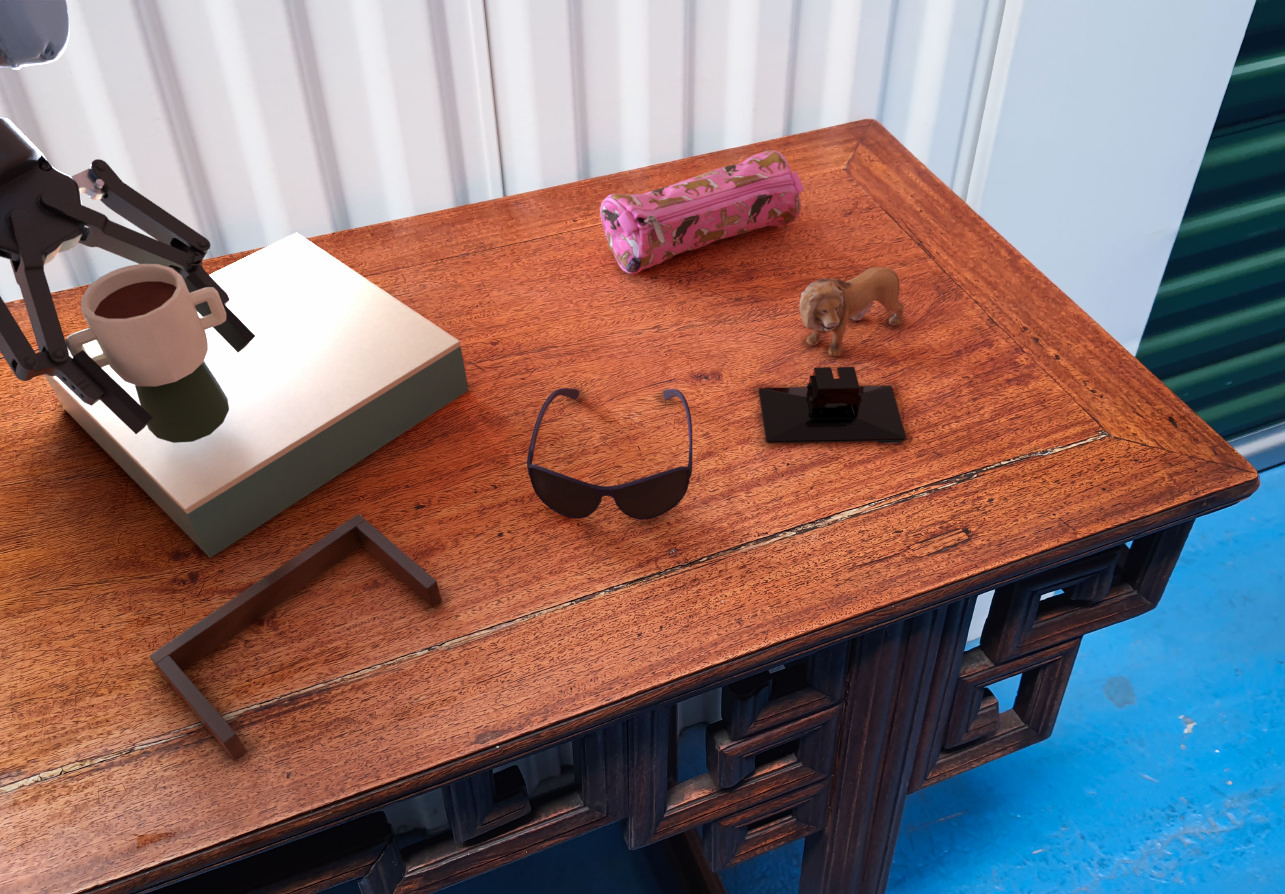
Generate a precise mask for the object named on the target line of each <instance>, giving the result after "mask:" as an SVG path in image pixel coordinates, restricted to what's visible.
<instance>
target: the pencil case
mask: <svg viewBox="0 0 1285 894" xmlns="http://www.w3.org/2000/svg"><path fill="white" fill-rule="evenodd" d="M804 190H805V189H804V186H803V184H802V181H801V178H800V175H799V174H798V171H792V169H791V166H790V164H789V162H788V159H786V157H785V155H784V154H782V152H780V151H777V150H774V149H773V150H764V151H762V152H760V153H756V154H753V155H751V156H749V157H747V158H745V159H744V160H743V161H741V162H740V163H737V164H729V165H726V166H723V167H719V168H716V169H713V170H710V171H707V172H705V173H702V174H699V175H696V176H693V177H691V178H687V179H685V180H681V181H679V182H676V183H674V184H670V185H667V186H664V187H662V188H657V189H654V190H650V191H647V192H645V193H642V194H641V193H640V194H639V193H635V194H634V193H630V194H629V193H628V194H627V193H624V194H623V193H622V194H621V193H620V194H619V193H611V194H608V195H607V196H606V197H605V198H604V199H603V200H602V201H601V204H600V208H599V216H600V221H601V226H602V227H603V231H604V235H605V239H606V241H607V246H608V248H609V250H610V251H611V252H612V254H613V256H614V258H615V260H616V261H615V262H616V263H617V265H618V267H619V268H620V269H621V270H622V271H623V272H625V273H626V274H628V275H636V274H638V273H640V272H641V271H642V270H646V269H650V268H652V267H654V266H656V265H660V264H662V263H663V262H665V261H669V260H671V259H672V258H674V256H677V255H680V254H682V253H684V252H689V251H693V250H697V249H700V248H703V247H705V246H707V245H710V244H713V243H714V242H716V241H719V240H725V239H727V238H731V237H737V236H739V235H744V234H747V233H750V232H753V231H756V230H759V229H763V228H766V227H773V226H774V227H777V226H786V225H789V224H791V223H794V222H795V221H796V220H797V219H798V218H799V215H800V213H801V210H802V209H801V207H802V204H801V197H800V196H801V195H800V194H801V193H802V192H803V191H804Z"/></svg>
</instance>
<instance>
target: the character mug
mask: <svg viewBox="0 0 1285 894" xmlns="http://www.w3.org/2000/svg"><path fill="white" fill-rule="evenodd" d="M205 301H207V302H208V305H209V307H210V310H211V312H212V314H209V315H207V316H204V317H201V318H200V317H199V315H198V313H197V310H196V308H195V305H197V304H200V303H203V302H205ZM80 310H81V313H82V315H83V317H84V319H85V321H86V323H87V326H88V327H87V328H83V329H82V330H78V331H76V332H73V333H70V334H69V335H68V336H66V338H65V342H66V345H67V348H68V350H69V351H70V353H71V355H72V357H74V356H75V355H76V354H77V353H79V352H80V351H82V350H83V351H84V352H86V350H85V348H84V346H83V344H86V343H89V342H92V341H95V340H96V341H97V342H98V344H99V346H100V348H101V350H102V352H103V353H100V354H98V355H95V356H92V357H91V358H92V359H93V360H94V361H95V362H96V363H97V364H98V365H99V366H100V367H104V366H107V365H109V366H110V367H111V368H112V369H113V370H114V372H115V373H116V374H117V375H118V376H119V377H121V378H122V379H123V380H124V381H125V382H128V383H131V384H133V385H135V388H136V391H137V395H138V398H139V401H140V405H141V406H142V407H143V408H144V409H145V410H146V411H147V412H148V413H149V414H150V415H151V416H152V417H153V419H152V420H151V421H150V422H149V423H148V424H147V426H148V429H149V430H150V431H151V432H152V433H153V434H154V435H155V436H156V437H157V438H159V439H162V440H166V441H169V442H172V443H179V442H193V441H196V440H198V439H201V438H203V437H206V436H208V435H210V434H211V433H213V432H214V431H215V430H216V429H217V428H218V427H219V426H220V425H221V424H222V423H223V422H224V420H225V418H226V415H227V413H228V411H229V405H228V399H227V397H226V395H225V393H224V392H223V390H222V388H221V386H220V385H219V383H218V381H217V380H216V378H215V377H214V375H213V374H212V372H211V371H210V369H209V368H208V366H207V365H206V363H205V362H204V359H205V357H206V354H207V352H208V342H207V337H206V332H205V330H206V329H209V328H212V327H214V326H217V325H220V324H222V323H223V322H225V321H226V312H225V309H224V307H223V304H222V301H221V299H220V296H219V294H218V292H217V290H216V289H215V288H214V287H206V288H202V289H200V290H197V291H194V292H191V293H189V291H188V288H187V286H186V284H185V281H184V279H183V277H182V276H181V275H180V274H179V273H178V272H176V271H175V270H174V269H173V268H170V267H166V266H163V265H159V264H138V263H137V264H133V265H131V264H130V265H127V266H123V267H119V268H117V269H114V270H112V271H109V272H108V273H106V274H103V275H102V276H99V277H98V278H97V279H96V280H95V281H93V282H92V283H91V284H90V285H89V286H88V287H87V288H86V290H85V291H84V293H83V295H82V296H81V298H80ZM86 353H87V352H86Z"/></svg>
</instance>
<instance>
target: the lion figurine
mask: <svg viewBox="0 0 1285 894" xmlns="http://www.w3.org/2000/svg"><path fill="white" fill-rule="evenodd" d="M900 284H901V283H900V278H899V275H898V273H897V272H896V271H895V270H894V269H892V268H889V267H883V266H873V267H869V268H867V269H866V270H864V271H863V272H861V273H860V274H858V275H856V276H855V277H853V278H851V279H848V280H846V281H843V279H840V278H830V277H826V278H823V277H822V278H819V279H817V280H815V281H812V282H810V284H808V285H807V286H806V288H805V289H804V290H803V291H802V292H801V294H800V300H799V309H798V310H799V312H800V317H801V322H802V323H803V325H804V327H805V328H806V329H807V330H811V332H812V333H811V335H807V337H806V340H805V343H806V344H807V345H809V346H812V347H813V346H816V345H817V344H818V343H819V342H820V339H821V336H822V335H827V334H829V333H831V332H832V333H833V334H832V339H831V342H830V347H829V348H828V354H829V356H830V357H838V358H839V357H840V356H841V354H842V349H843V339H844V335H845V333H846V331H847V330H846V329H847V324H848V319H851V320H852V321H854V322H855V321H856V322H857V321H860V320H862V319H863V318H864V317H865V315H866V314H867V313H868V312H869V311H870V309H872V307H873V305H874V302H873V301H877V302H878V303H879V304H880V305H881V306H883V308H885V310H888V311H890V312H894V315H892V316H890V317H889V318H888V324H889V325H891V326H894V327H897V326H900V325H901V323H902V320H903V312H904V303H902V302H901V300H900V299H899V297H900V290H901V289H900Z"/></svg>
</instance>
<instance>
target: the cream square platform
mask: <svg viewBox="0 0 1285 894" xmlns="http://www.w3.org/2000/svg"><path fill="white" fill-rule="evenodd" d="M209 275H210V276H211V277H212V278H213V279H214V280H215V281H216V282H217V284H218V285H219V286H220V287H221V288H222V289H223V290H224V291H225V292H226V293H227V294H228V296H229V299H230V300H229V301H228V303H227V304H226V306H227V307H228V308H229V309H230V310H231V311H232V312H233V313H234V314H235V315H236V316H237V317H238V318H239V319H240V320H241V321H242V322H243V323H244V324H245V326H246V327H247V328H248V329H249V330H250V331H251V332H252V333H253V334H254V335H255V337H254V338H253V339H252V340H251V342H250V343H249V344H248V345H247V346H246V347H245V348H244V349H242V350H241V351H240V352H239V353H238V352H237V351H236V350H235V349H234V348H233V347H232V346H231V345H230V344H229V343H228V342H227V341H226V340H225V339H224V338H223V337H222V336H221V335H220V334H219V333H218V332H217V331H216V330H215V329H214V328H213V327H212V328H209V329H206V330H205V332H206V337H207V342H208V352H207V354H206V357H205V359H204V362H205V363H206V365H207V366H208V368H209V369H210V371H211V372H212V374H213V375H214V377H215V378H216V380H217V381H218V383H219V385H220V386H221V388H222V390H223V392H224V393H225V395H226V397H227V399H228V405H229V411H228V413H227V415H226V418H225V420H224V422H223V423H222V424H221V425H220V426H219V427H218V428H217V429H216V430H215V431H214V432H213V433H211V434H210V435H208V436H206V437H203V438H201V439H198V440H196V441H193V442H179V443H172V442H169V441H166V440H162V439H159V438H157V437H156V436H155V435H154V434H153V433H152V432H151V431H150V430H149V429H148V426H147V425H146V426H145V428H144V429H142V430H141V431H140V432H139V433H137V434H135V433H134V432H133V431H132V430H131V429H130V428H129V427H128V426H127V425H126V424H125V423H124V422H123V421H121V420H120V419H119V418H118V417H117V416H116V415H115V414H114V413H113V412H112V411H111V410H110V409H109V408H108V407H107V406H106V405H105V404H104V403H103V402H102V401H100V400H99V401H98V402H96V403H95V404H94V405H92V406H91V405H89V404H87V403H84V402H83V401H82V400H81V399H80V398H79V397H78V396H77V395H76V394H75V393H74V392H73V391H71V390H70V389H69V388H68V387H67V386H66V385H65V384H64V383H63V382H62V381H61V380H60V379H59V378H58V377H56V376H48V375H46V374H44V378H45V379H46V381H47V382H48V384H49V386H50V388H51V390H52V391H53V392H54V395H55V396H56V398H57V399H58V401H59V403H60V405H61V406H62V408H63V410H64V411H65V412H66V413H67V414H68V415H69V416H70V417H71V418H72V419H73V420H74V421H75V422H76V424H78V425H79V426H80V427H81V428H82V429H83V430H84V431H85V433H87V434H88V435H89V436H90V437H91V438H92V439H93V440H94V441H95V442H96V444H97V445H98V446H99V447H101V448H102V450H103V451H104V452H106V454H107V455H108V456H109V457H110V458H111V459H112V460H113V461H114V462H115V463H116V464H117V465H118V466H119V467H120V468H121V469H123V471H124V472H125V473H126V474H127V475H128V476H129V477H130V478H131V479H132V480H133V481H134V483H136V484H137V486H139V487H140V488H141V489H142V491H143V492H144V493H146V495H148V497H150V498H151V499H152V501H153V502H154V503H155V504H156V505H157V506H158V507H159V508H160V509H161V510H162V511H163V512H164V513H165V514H166V515H167V516H168V517H169V518H170V519H171V520H172V521H173V522H174V523H175V524H176V525H177V526H178V527H179V528H180V529H181V530H182V531H183V533H185V535H187V537H189V539H190V540H191V541H193V542H194V544H196V546H197V547H198V548H199V549H200V550H201V551H202V552H203V553H204V554H205V555H206V556H207V557H208V558H209V559H212V558H213V557H214V556H216V555H218V554H219V553H221V552H222V551H224V550H226V549H227V548H229V547H230V546H231V545H233V544H234V543H236V542H238V541H240V539H243V538H244V537H245V536H246V535H249V534H250V533H252V532H254V530H257V529H258V528H259V527H260V526H262V525H264V524H265V523H267V522H268V521H270V520H272V519H273V518H275V517H276V516H277V515H279V514H281V513H282V512H284V511H285V510H287V509H288V508H291V506H293V505H295V504H296V503H298V502H299V501H301V500H302V499H304V498H306V497H307V496H309V495H310V494H312V493H314V492H315V491H317V490H318V489H319V488H321V487H323V486H324V485H325V484H327V483H329V482H330V481H332V480H333V479H335V478H336V477H338V476H339V475H341V474H343V473H344V472H345V471H347V470H349V469H351V468H352V467H353V466H355V465H356V464H358V463H360V462H361V461H363V460H364V459H366V458H367V457H369V456H370V455H372V454H373V453H375V452H376V451H378V450H380V449H381V448H383V447H384V446H386V445H387V444H389V443H390V442H392V441H393V440H396V438H398V437H400V436H401V435H403V434H405V433H406V432H407V431H409V430H410V429H412V428H413V427H415V426H416V425H418V424H419V423H421V422H423V421H424V420H426V419H427V418H429V417H430V416H432V415H433V414H435V413H437V412H438V411H440V410H442V409H443V408H444V407H446V406H447V405H449V404H451V403H452V402H454V401H455V400H456V399H458V398H459V397H461V396H463V395H465V394H466V393H468V392H469V391H470V387H469V383H468V378H467V372H466V366H465V362H464V357H463V350H462V346H461V341H460V340H459V339H457V338H456V337H455V336H453V335H451V334H450V333H448V332H447V331H445V330H444V329H442V328H441V327H439V326H438V325H436V324H435V323H433V322H432V321H430V320H429V319H427V318H426V317H425V316H423V315H422V314H420V313H418V312H417V311H415V310H414V309H412V308H411V307H410V306H408V305H407V304H405V303H403V302H402V301H401V300H399V299H397V298H396V297H394V296H393V295H391V294H390V293H388V292H386V291H385V290H384V289H382V288H381V287H379V286H377V285H376V284H375V283H374V282H371V281H370V280H369V279H367V278H366V277H365V276H363V275H361V274H359V272H357V271H355V270H354V269H352V268H351V267H349V266H348V265H346V264H345V263H343V262H342V261H340V260H339V259H337V258H336V257H334V256H333V255H331V254H330V253H328V252H327V251H325V250H324V249H322V248H321V247H320V246H318V245H316V244H315V243H314V242H312V241H310V240H309V239H307V238H306V237H304V236H303V235H302V234H300V233H298V232H294V233H293V234H290V235H288V236H286V237H284V238H283V239H280V240H278V241H276V242H274V243H272V244H270V245H268V246H266V247H264V248H262V249H260V250H258V251H256V252H254V253H252V254H250V255H247V256H246V257H244V258H241V259H239V260H237V261H236V262H233V263H231V264H229V265H226V266H225V267H223V268H221V269H218V270H216V271H214V272H213V273H211V274H209ZM197 313H198V312H197ZM198 315H199V317H200V318H201V317H202V316H201V315H200V314H199V313H198ZM83 346H84V348H85V350H86V352H87V354H88V355H89V356H90V357H92V356H95V355H98V354H100V353H103V352H102V350H101V348H100V346H99V344H98V342H97V341H96V340H95V341H92V342H89V343H86V344H83ZM68 351H69V350H68ZM69 355H70V356H71V357H72V355H71V353H70V351H69ZM72 358H73V357H72ZM101 368H102V369H103V370H104V371H105V372H106V373H107V374H108V375H109V376H110V377H111V378H113V379H114V380H115V381H116V382H117V383H118V384H119V385H120V386H121V387H122V388H123V389H124V390H125V391H126V392H127V393H128V394H129V395H130V396H131V397H132V398H133V399H134V400H135V401H136V402H137V403H138V404H140V401H139V398H138V395H137V391H136V388H135V385H133V384H131V383H128V382H125V381H124V380H123V379H122V378H121V377H119V376H118V375H117V374H116V373H115V372H114V370H113V369H112V368H111V367H110V366H109V365H107V366H104V367H101Z"/></svg>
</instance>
